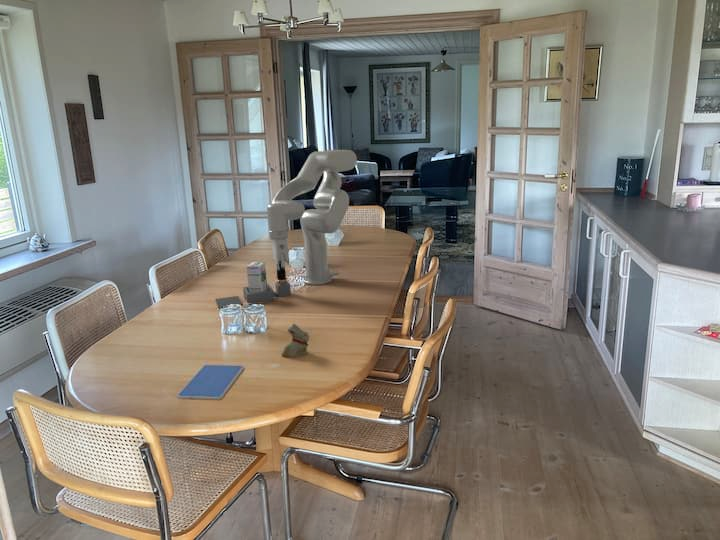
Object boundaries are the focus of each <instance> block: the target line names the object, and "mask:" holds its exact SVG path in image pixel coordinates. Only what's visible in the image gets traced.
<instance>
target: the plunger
mask: <svg viewBox="0 0 720 540" xmlns="http://www.w3.org/2000/svg"><path fill="white" fill-rule="evenodd" d="M276 279H277V278H276ZM287 281H288V278H287V277H286V279H285V280H278V279H277V281H276V282H278V283H280V285H281V284H285V282H287Z"/></svg>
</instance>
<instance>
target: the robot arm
mask: <svg viewBox="0 0 720 540" xmlns="http://www.w3.org/2000/svg"><path fill="white" fill-rule="evenodd" d="M357 162H358V158H357V154H356V153H355V152H354V151H353V150H351V149H328V150H322V151H321V150H319V151H318V150H317V151H313V152H311V153H310V154H309V155H308V156H307V159H306V161H305V162H304V164H303V166H302V167H301V169H300V171H299V172H298V174H297V176H296V177H295V178H293V179H292V180H290V181H289V182H287V183H286V184H285V185H283V187H281V188H280V189H279V191H277V193H276V195H275V197H274V198H273V200H272V201H271V202H272V203H269V204H268V205H267V207H266V213H267V224H268V225H267V226H268V239H269V240H271V245H272V247H271V248H272V249H271V250H272V258H273V261H274V262H275V264H276V279H278V280H285V279H286V278H287V274H286V264H289V263H290V255H289V254H290V253H289V247H288V240H287V239H289V228H288V227H289V226H288V225H289V224H288V221H295V220H299V222H300V226H301V227H300V228H301V231H302V235H303V244H304V260H305V275H306V276H305V277H304V278H303V279H304V280H305V283H306V284H305V283H304V284H305V285H308V286H309V285H310V286H319V285H325V284H329V283H331V282H332V280H333V278H332V277H333V276H339V275H340V272H339V270H329V269H328V268H329V267H328V248H327V245H328V244H327V239H326V236H325V234H334V233H336V232H337V231H338V230H339V228H340V226H341V224H342V222H343V220H344V217H345V216H346V213H347V212H348V208H349V206H350V196H349V194H348V193H347V191H345V190H343V189H341V187H342V178H341V176H340V174H339V172H347V171H351V170H353V169H354V168H355V167H356V165H357ZM321 176H323V177H322V181H321V182H320V185H319V187H318V189H317V191H316V193H315V194H314V197H313V201H312V202H313V206H314V208H310V209H306V208H305V205H304V204H303V203H302V202H300V201H299V200H293V199H294V198H296V197H297V196H300V195H302V194H306V193H308V192H311V191H312V190H314V189H315V188H316V186H317V184H318V182H319V181H320V179H321Z"/></svg>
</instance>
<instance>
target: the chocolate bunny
mask: <svg viewBox="0 0 720 540" xmlns="http://www.w3.org/2000/svg"><path fill="white" fill-rule="evenodd" d="M287 333H289V334H290V335H291V337H292V338H291V339H292V340H291V341H289V342H287V343H286V345H285V346H284V348H283V350H282V352H281V357H285V358H298V357H299V358H300V357H303V356H306V355H307V353H308V350H307V348H308V346H309V343H308V341H309V339H310V335H309V333H308V332H307V331H305V330H302V329H301V328H300V327H299V326H298V325H297V324H296V323H292V324H291V326H290V327H288V328H287Z"/></svg>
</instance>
